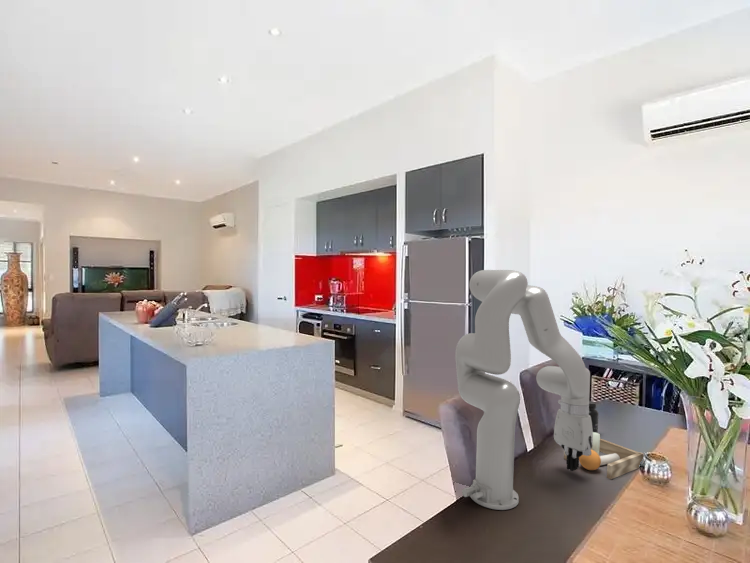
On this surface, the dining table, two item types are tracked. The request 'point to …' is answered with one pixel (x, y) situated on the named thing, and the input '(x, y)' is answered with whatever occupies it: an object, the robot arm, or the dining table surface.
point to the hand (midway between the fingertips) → (572, 468)
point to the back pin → (596, 442)
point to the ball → (590, 461)
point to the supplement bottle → (593, 416)
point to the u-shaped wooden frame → (627, 459)
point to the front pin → (609, 458)
